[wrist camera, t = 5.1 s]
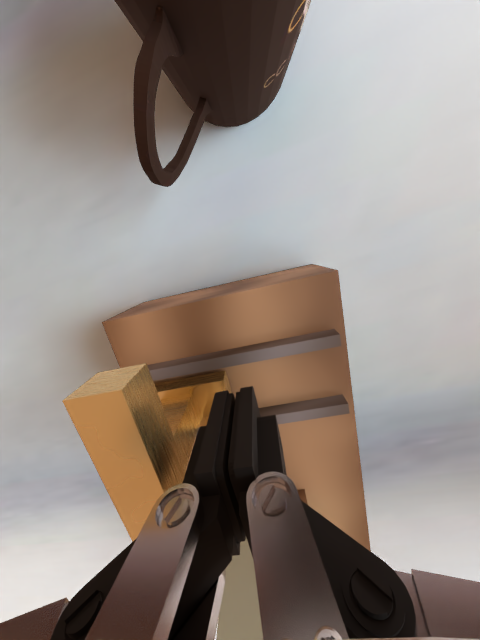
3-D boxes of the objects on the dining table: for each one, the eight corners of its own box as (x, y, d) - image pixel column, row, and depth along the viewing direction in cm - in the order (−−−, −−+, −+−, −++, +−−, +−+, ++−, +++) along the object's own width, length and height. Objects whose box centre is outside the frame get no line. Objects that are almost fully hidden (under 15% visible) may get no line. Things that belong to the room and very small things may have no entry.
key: (211, 319, 12) (177, 379, 6) (247, 449, 14) (243, 577, 8) (118, 339, 12) (12, 410, 7) (166, 460, 14) (114, 587, 9)
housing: (312, 264, 16) (346, 272, 10) (346, 506, 22) (381, 599, 16) (144, 302, 17) (88, 328, 11) (219, 520, 23) (208, 610, 17)
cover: (305, 496, 15) (343, 672, 9) (320, 569, 17) (361, 758, 11) (228, 505, 15) (212, 677, 9) (251, 575, 17) (250, 757, 11)
